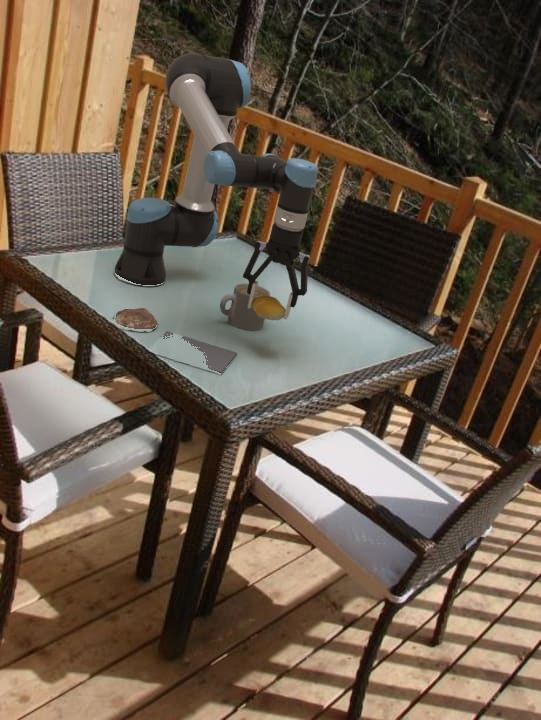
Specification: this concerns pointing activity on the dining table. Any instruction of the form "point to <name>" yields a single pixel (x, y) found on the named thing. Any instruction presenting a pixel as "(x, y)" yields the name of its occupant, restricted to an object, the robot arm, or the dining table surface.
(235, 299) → the coffee mug
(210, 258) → the dining table surface
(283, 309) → the bread roll
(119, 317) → the shell
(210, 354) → the mat
